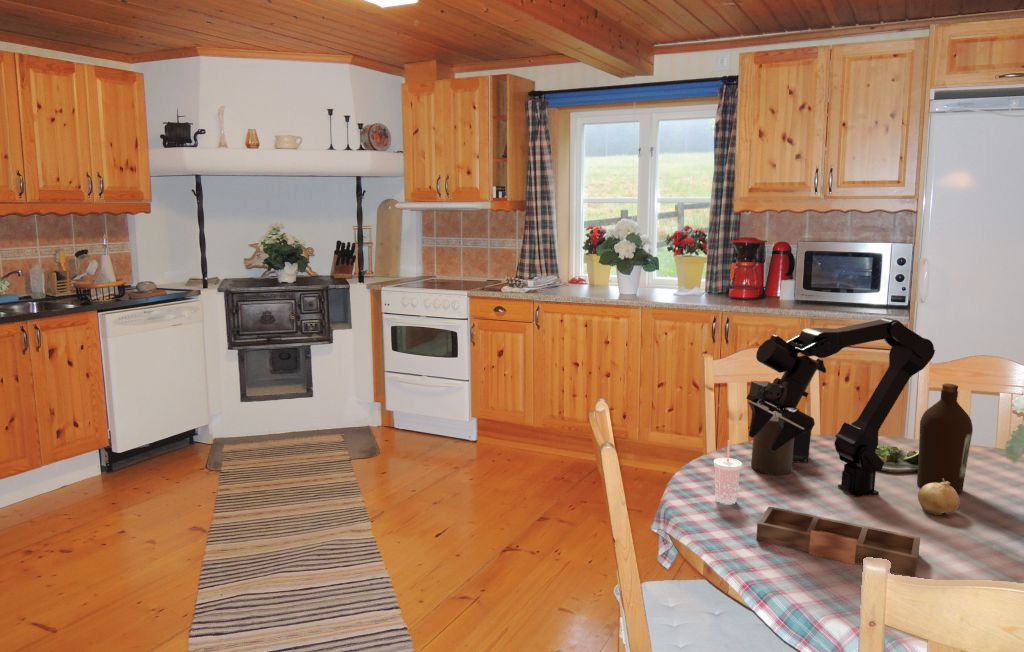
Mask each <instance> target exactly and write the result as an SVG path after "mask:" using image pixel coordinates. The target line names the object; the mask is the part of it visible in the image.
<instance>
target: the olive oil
mask: <svg viewBox="0 0 1024 652" xmlns="http://www.w3.org/2000/svg"><path fill="white" fill-rule="evenodd" d="M941 386H942V387H941V388H942V389H941V390H940V399H939V400H938V401H937V402H936V403H934V404H933V405H932V406H930V407H929V408H927V409H926V410H925V411H924V412H923V414H922V416H921V418H920V422H919V443H918V450H919V460H918V472H917V477H916V478H917V479H916V485H917V487H918V488H919V489H921V488H922V487H923V486H924V485H926V484H929V483H934V482H936V483H941V482H944V481H948V482H950V484H949V485H950V486H951V487H952V488H954V489H955V491H956V492H957V494H958V496H959V495H961V494H962V493H963V489H964V485H965V484H964V483H965V477H966V471H967V466H968V465H967V464H968V460H969V459H968V458H969V452H970V448H971V441H972V436H973V422H972V419H971V417H970V416H969V414H968V413H967V412H966V411H965V409H964V408H963V407H962V406H961V405H960V403H959V402H958V398H959V397H958V396H959V391H958V389H959V385H957V384H954V383H943V384H941ZM943 478H944V481H943V480H942V479H943Z"/></svg>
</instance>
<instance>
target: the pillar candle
mask: <svg viewBox="0 0 1024 652" xmlns="http://www.w3.org/2000/svg"><path fill="white" fill-rule="evenodd" d="M768 412H770V413H771V414H773V417H772V418H771V419H770V420H769V421H768V422H767V423H766V424H765V426H764V427H763V428H762V429H761V430H760V431H759V432H758V433H757V434H756V435H755V436H754V437H753V438H752V448H751V449H752V451H751V461H750V467H751V468H752V469H753V468H754V469H755V470H754V469H753V470H754V471H756V470H757V472H759V471H760V472H759V473H763V474H765V473H767V474H766V475H769V474H774V475H773V476H785V475H784V474H786V475H788V473H789V474H791V473H792V469H793V462H792V458H793V447H794V438H793V439H791V440H790V441H788V442H787V443H785V444H784V445H782V446H781V447H780V448H778V449H777V450H775V451H773V450H771V449H770V448H771V445H772V442H773V440H774V437H775V435H776V433H777V431H778V429H779V426H780V425H779V419H778V417H780V418H782V419H784V420H785V419H786V418H784V417H782V414H780V413H778V412H776V411H774V412H771V411H769V410H768Z"/></svg>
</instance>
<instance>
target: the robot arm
mask: <svg viewBox="0 0 1024 652" xmlns="http://www.w3.org/2000/svg"><path fill="white" fill-rule="evenodd" d="M881 340H884V341H885V343H886V344H887V345H889V346H890V348H891V349H890V351H889V352H888V353H889V354H888V357H889V358H888V360H889V361H888V368H887V369H886V371H885V372H884V374H883V376H882V378H881V380H880V381H879V383H878V385H877V386H876V387H875V389H874V391H873V393H872V394H871V396H870V398H869V399H868V401H867V403H866V404H865V407H864V408H863V410H862V412H860V414H859V417H858V418H857V419H856V420H855V421H853V422H851V423H848V422H847V421H844V422H843V423H842V425H841V427H840V430H839V431H838V432H837V433H836V434H835V435H834V437H835V438H836V439H835V440H834V444H833V445H834V447H835V451H836V452H837V454H838V457H839V460H840V461H841V462H842V461H843V462H844V465H843V470H842V472H841V481H840V482H841V483H840V484H837V488H839V489H841V490H843V491H844V492H846V493H847V494H849V495H852V496H853V497H856V498H857V497H858V498H859V497H866V496H867V497H869V496H875V495H876V496H878V495H879V494H880V492H879V491H877V489H875V484H876V473H877V472H881V471H882V467H883V465H884V462H883V461H882V460H881V458H880V457H879V456H878V455H877V454H876V453H875V451H876V449H877V447H878V446H879V431H880V429H881V427H882V425H883V424H884V422H885V420H887V419H886V418H887V417H888V416H889V414H890V412H891V410H892V409H893V407H894V405H895V404H896V403H897V400H898V398H899V397H900V396H901V393H902V391H904V388H905V387H906V385H907V384H908V382H909V380H910V378H911V377H913V376H914V375H916V374H917V373H919V372H921V371H922V370H924V369H925V368H926V366H927V365H928V364H929V363H930V361H931V360H932V359H933V358H934V355H935V353H936V352H935V351H936V350H935V347H934V343H933V342H932V341H931V340H930V339H928V338H925V337H922V336H921V335H919V334H918V333H916V332H914V331H913V330H911V329H910V328H909V327H907V326H906V325H904V323H902V322H901V321H900V320H897V319H892V318H888V317H881V318H879V319H877V320H872V321H867V322H861V323H857V324H856V323H855V324H852V325H848V326H843V327H841V326H840V327H837V328H835V327H834V328H829V327H807V328H804V329H802V330H801V332H800V334H799V335H796V336H795V337H793V338H791V339H789V340H787V341H785V340H784V339H783V338H782V337H780V336H779V335H775V334H772V335H771V336H770V338H769V339H767V340H765V341H764V342H762V343H761V345H759V346H758V347H757V351H756V356H755V357H756V360H757V361H758V362H759V363H760V364H763V365H764V366H767V367H768V368H770V369H771V370H774V371H775V372H777V373H780V374H782V373H783V374H782V376H781V378H779V377H776V378H774V379H773V381H772V382H767V381H758V380H752V381H750V386H749V392H748V394H747V396H746V398H745V399H746V400H748V401H747V403H748V405H749V407H750V410H751V419H750V420H751V421H750V427H749V431H748V437H749V438H752V439H753V437H754V436H755V435H756V434H757V433H758V432H759V431H760V430H761V429H762V428H763V427H764V426H765V424H766V423H767V422H768V421H769V420H770V419H771V418H772V417H773V414H771V413H770V412H768V411H771V412H778V413H780V414H782V417H784V418H786V419H785V420H784V419H782V418H780V417H778V419H779V425H780V426H779V429H778V431H777V433H776V435H775V437H774V440H773V442H772V445H771V448H770V449H771V450H773V451H775V450H777V449H778V448H780V447H781V446H782V445H784V444H785V443H787V442H788V441H790V440H791V439H793V438H794V437H796V436H798V435H800V434H801V433H806V431H805V430H804V428H805V429H807V430H809V431H811V432H812V430H813V428H814V426H815V424H816V423H815V419H814V417H812V416H810V415H809V414H806V413H804V412H802V411H801V410H800V408H797V407H798V406H799V405H798V404H799V403H800V402H801V399H802V398H803V397H805V398H808V397H809V392H807V389H808V387H809V385H810V383H811V382H812V379H813V378H814V375H815V374H816V372H817V371H818V372H820V373H823V374H826V373H827V369H826V366H825V364H824V360H822V359H826V358H829V357H831V356H832V355H836V354H838V353H839V352H841V350H842V349H845V348H847V347H851V346H856V345H861V344H865V343H870V342H877V341H881ZM798 354H801V355H798ZM812 357H816V359H813V358H812Z"/></svg>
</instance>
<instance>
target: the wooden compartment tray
mask: <svg viewBox="0 0 1024 652" xmlns="http://www.w3.org/2000/svg"><path fill="white" fill-rule="evenodd" d="M756 525H757V527H756V540H755V541H758V542H762V541H764V542H763V543H767V542H768V544H771V543H772V545H776V546H781V547H784V546H785V548H789V549H793V550H798V551H803V552H807V553H808V554H809V555H812V556H816V557H821V558H824V557H825V559H828V560H834V561H838V562H843V563H847V564H851V565H855V564H859V565H863V559H864V558H866V557H873V558H882V559H887V560H889V561H890V562H891V568H890V571H889V572H895V573H899V574H903V575H907V576H910V577H911V576H913V577H916V574H917V565H918V561H919V554H920V544H921V543H920V542H921V537H920V536H915V535H910V534H905V533H902V532H896V531H891V530H888V529H887V530H886V529H881V528H876V527H871V526H866V525H862V524H856V523H853V522H852V523H851V522H847V521H842V520H838V519H833V518H827V517H822V516H818V515H813V514H807V513H803V512H799V511H793V510H789V509H784V508H779V507H774V506H768V507H767V508H766V510H765V511H764V513H763V514H762V516H761V517H760V519H759V520H758V522H757V524H756ZM861 563H862V564H861Z"/></svg>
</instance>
